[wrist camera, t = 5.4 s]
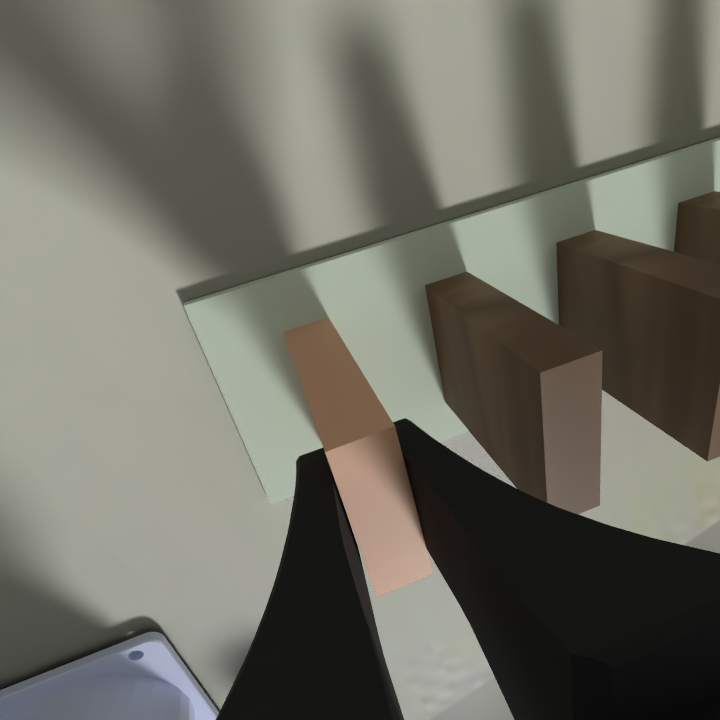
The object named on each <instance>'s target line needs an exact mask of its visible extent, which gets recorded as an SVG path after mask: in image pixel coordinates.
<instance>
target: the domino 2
mask: <svg viewBox="0 0 720 720" xmlns="http://www.w3.org/2000/svg"><path fill="white" fill-rule="evenodd" d="M556 247H557V279H558V312H559V325H560V326H561V327H563V328H565V329H567V330H568V331H570V332H572V333H573V334H575V335H577V336H579V337H580V338H582V339H584V340H585V341H587V342H589V343H591V344H592V345H594V346H596V347H597V348H599V349H601V350H602V390H604V391H605V392H607V393H608V394H610V395H611V396H612V397H614V398H615V399H617V400H618V401H620V402H621V403H623V404H624V405H626V406H627V407H629V408H630V409H631V410H633V411H634V412H636V413H637V414H639V415H640V416H642V417H643V418H645V419H646V420H648V421H649V422H651V423H652V424H653V425H655V426H656V427H658V428H659V429H661V430H662V431H664V432H665V433H667V434H668V435H670V436H671V437H673V438H674V439H675V440H677V441H678V442H680V443H681V444H683V445H684V446H686V447H687V448H689V449H690V450H692V451H693V452H694V453H696V454H697V455H699V456H700V457H702V458H703V459H705V460H706V461H709V460H712V459H714V458H717V457H719V456H720V264H717V263H713V262H710V261H706V260H702V259H699V258H695V257H691V256H688V255H684V254H681V253H677V252H673V251H670V250H666V249H663V248H659V247H655V246H652V245H648V244H645V243H641V242H637V241H634V240H630V239H626V238H623V237H619V236H616V235H612V234H608V233H605V232H601V231H598V230H593V231H590V232H587V233H584V234H581V235H578V236H575V237H572V238H569V239H566V240H562V241H559V242H556Z"/></svg>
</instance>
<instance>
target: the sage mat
mask: <svg viewBox="0 0 720 720" xmlns="http://www.w3.org/2000/svg"><path fill="white" fill-rule="evenodd" d="M713 191H717V192H720V137H718V138H715V139H712V140H709V141H705V142H702V143H699V144H696V145H693V146H689V147H686V148H683V149H680V150H676V151H673V152H670V153H667V154H663V155H660V156H657V157H654V158H650V159H647V160H644V161H641V162H637V163H634V164H631V165H628V166H624V167H621V168H618V169H615V170H612V171H608V172H605V173H602V174H599V175H595V176H592V177H589V178H586V179H582V180H579V181H576V182H573V183H569V184H566V185H563V186H560V187H556V188H553V189H550V190H547V191H543V192H540V193H537V194H534V195H531V196H527V197H524V198H521V199H518V200H514V201H511V202H508V203H505V204H501V205H498V206H495V207H492V208H488V209H485V210H482V211H479V212H475V213H472V214H469V215H466V216H462V217H459V218H456V219H453V220H450V221H446V222H443V223H440V224H437V225H433V226H430V227H427V228H424V229H420V230H417V231H414V232H411V233H407V234H404V235H401V236H398V237H394V238H391V239H388V240H385V241H381V242H378V243H375V244H372V245H369V246H365V247H362V248H359V249H356V250H352V251H349V252H346V253H343V254H339V255H336V256H333V257H330V258H326V259H323V260H320V261H317V262H313V263H310V264H307V265H304V266H300V267H297V268H294V269H291V270H288V271H284V272H281V273H278V274H275V275H271V276H268V277H265V278H262V279H258V280H255V281H252V282H249V283H245V284H242V285H239V286H236V287H232V288H229V289H226V290H223V291H219V292H216V293H213V294H210V295H207V296H203V297H200V298H197V299H194V300H190V301H187V302H184V308H185V310H186V313H187V315H188V317H189V319H190V322H191V324H192V326H193V329H194V331H195V333H196V335H197V338H198V340H199V342H200V344H201V347H202V349H203V351H204V354H205V356H206V358H207V360H208V363H209V365H210V367H211V369H212V372H213V374H214V376H215V379H216V381H217V383H218V385H219V388H220V390H221V392H222V394H223V397H224V399H225V401H226V404H227V406H228V408H229V410H230V413H231V415H232V417H233V419H234V422H235V424H236V426H237V428H238V431H239V433H240V435H241V438H242V440H243V442H244V444H245V447H246V449H247V451H248V453H249V456H250V458H251V460H252V463H253V465H254V467H255V469H256V472H257V474H258V476H259V478H260V481H261V483H262V485H263V488H264V490H265V492H266V494H267V497H268V499H269V501H270V503H271V504H274V503H277V502H279V501H282V500H285V499H288V498H290V497H293V496H294V492H295V483H296V460H297V459H298V457H299V456H301V455H304V454H306V453H309V452H312V451H315V450H318V449H320V448H323V445H322V442H321V439H320V437H319V434H318V431H317V428H316V425H315V422H314V419H313V416H312V414H311V411H310V408H309V405H308V402H307V399H306V396H305V393H304V391H303V388H302V385H301V382H300V379H299V376H298V373H297V370H296V368H295V365H294V362H293V359H292V356H291V353H290V350H289V347H288V345H287V342H286V339H285V336H284V333H283V332H286V331H289V330H291V329H294V328H297V327H300V326H303V325H306V324H309V323H312V322H315V321H318V320H321V319H324V318H327V317H329V319H330V320H331V322H332V324H333V325H334V327H335V329H336V330H337V332H338V333H339V335H340V337H341V338H342V340H343V342H344V343H345V345H346V347H347V348H348V350H349V351H350V353H351V355H352V356H353V358H354V360H355V361H356V363H357V365H358V366H359V368H360V369H361V371H362V373H363V374H364V376H365V378H366V379H367V381H368V383H369V384H370V386H371V387H372V389H373V391H374V392H375V394H376V396H377V397H378V399H379V401H380V402H381V404H382V405H383V407H384V409H385V410H386V412H387V414H388V415H389V417H390V419H391V420H392V422H396V421H398V420H401V419H404V418H406V419H408V420H410V421H412V422H413V423H414V424H415V425H417V426H418V427H419V428H420V429H422V430H423V431H424V432H426V433H427V434H428V435H430V436H431V437H432V438H434V439H435V440H437V441H438V442H441V441H444V440H446V439H449V438H452V437H454V436H457V435H460V434H463V433H465V432H468V431H469V430H468V429H467V428H466V427H465V425H464V424H463V423H462V422H461V421H460V419H459V418H458V417H457V416H456V415H455V413H454V412H453V411H452V410H451V409H450V407H449V406H448V405H447V404H446V403H445V398H444V393H443V387H442V381H441V375H440V369H439V364H438V358H437V352H436V346H435V340H434V335H433V329H432V323H431V317H430V311H429V306H428V300H427V294H426V288H425V285H427V284H430V283H433V282H436V281H439V280H442V279H446V278H449V277H452V276H455V275H458V274H461V273H464V272H469V273H470V274H472V275H474V276H475V277H477V278H479V279H481V280H482V281H484V282H486V283H487V284H489V285H491V286H493V287H494V288H496V289H498V290H499V291H501V292H503V293H505V294H506V295H508V296H510V297H512V298H513V299H515V300H517V301H518V302H520V303H522V304H524V305H525V306H527V307H529V308H530V309H532V310H534V311H536V312H537V313H539V314H541V315H542V316H544V317H546V318H548V319H549V320H551V321H553V322H555V323H556V324H558V325H559V312H558V279H557V247H556V242H559V241H562V240H566V239H569V238H572V237H575V236H578V235H581V234H584V233H587V232H590V231H593V230H598V231H601V232H605V233H608V234H612V235H616V236H619V237H623V238H626V239H630V240H634V241H637V242H641V243H645V244H648V245H652V246H655V247H659V248H663V249H666V250H670V251H673V252H674V245H675V233H676V222H677V211H678V203H679V202H683V201H686V200H689V199H692V198H695V197H698V196H701V195H704V194H707V193H710V192H713Z"/></svg>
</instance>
